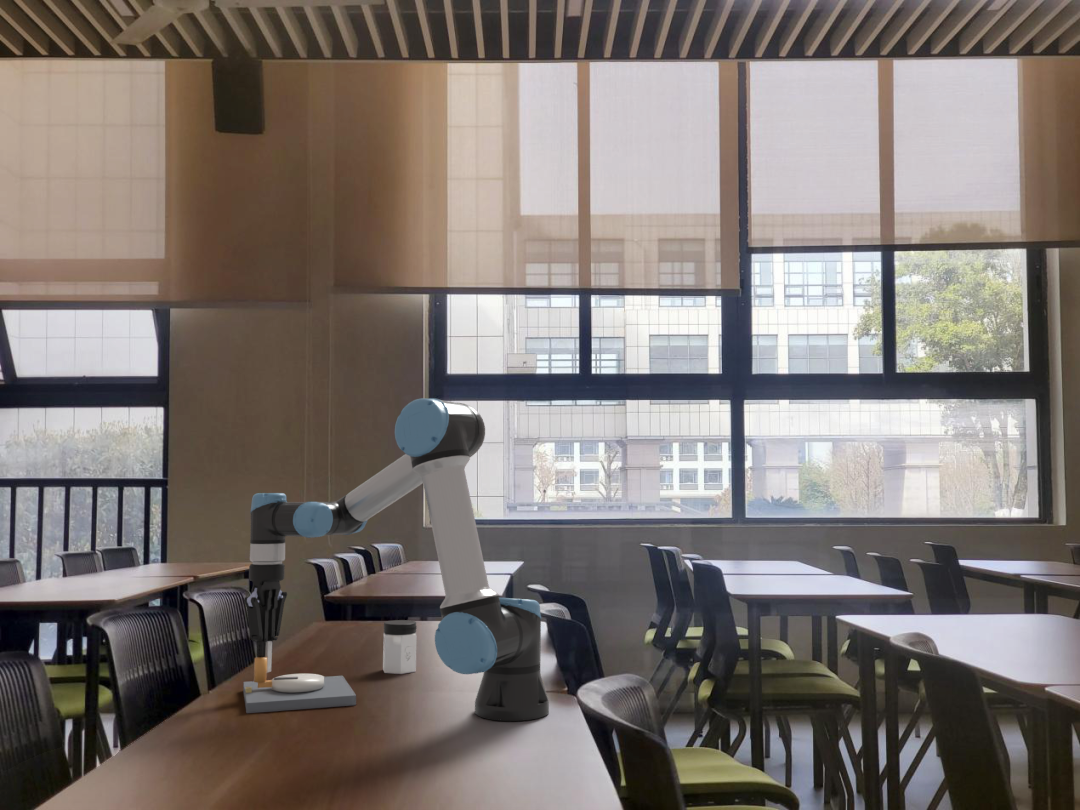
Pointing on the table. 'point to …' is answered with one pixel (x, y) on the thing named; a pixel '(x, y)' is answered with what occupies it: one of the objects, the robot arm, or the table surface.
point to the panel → (298, 697)
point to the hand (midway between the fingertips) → (264, 671)
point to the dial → (286, 679)
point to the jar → (399, 647)
